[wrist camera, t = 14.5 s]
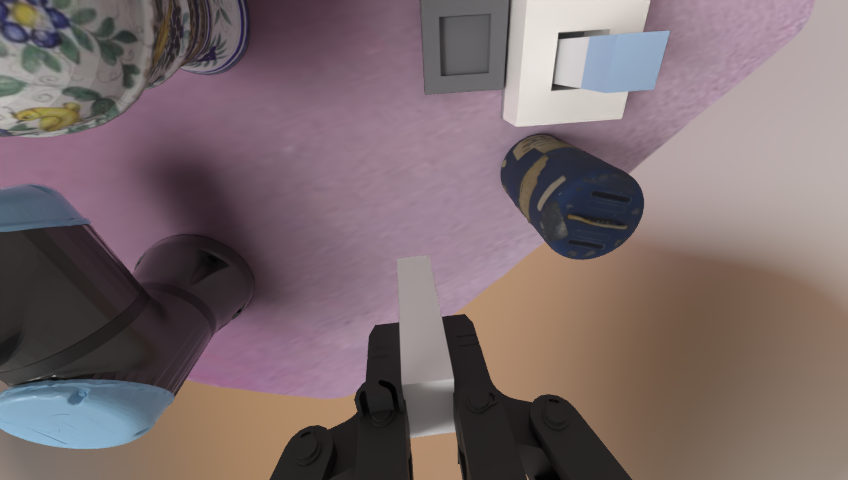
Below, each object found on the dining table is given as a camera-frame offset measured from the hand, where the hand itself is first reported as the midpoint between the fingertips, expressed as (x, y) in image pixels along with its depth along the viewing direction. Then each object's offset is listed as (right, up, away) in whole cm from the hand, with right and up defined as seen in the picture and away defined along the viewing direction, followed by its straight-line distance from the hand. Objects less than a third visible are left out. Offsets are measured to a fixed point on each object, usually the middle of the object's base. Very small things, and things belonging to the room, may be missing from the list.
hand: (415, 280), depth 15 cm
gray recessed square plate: (+5, +24, +21) cm, 32 cm away
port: (+16, +23, +22) cm, 36 cm away
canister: (+15, +12, +29) cm, 35 cm away
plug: (+16, +23, +21) cm, 35 cm away
